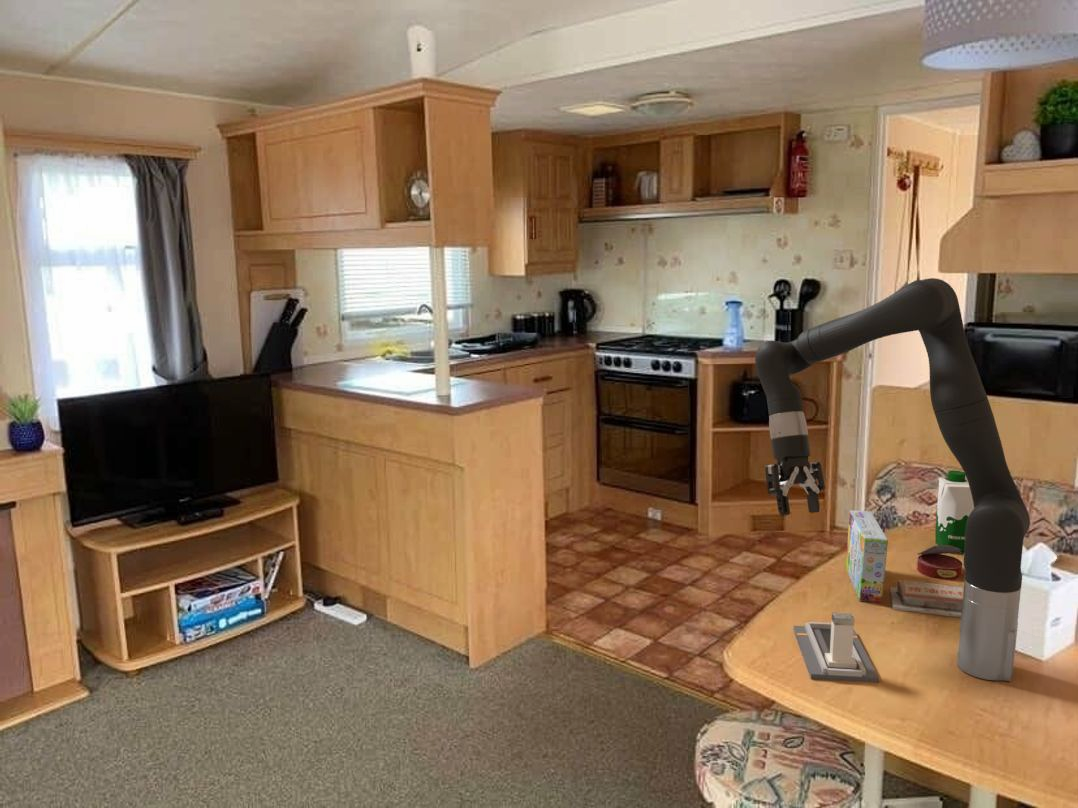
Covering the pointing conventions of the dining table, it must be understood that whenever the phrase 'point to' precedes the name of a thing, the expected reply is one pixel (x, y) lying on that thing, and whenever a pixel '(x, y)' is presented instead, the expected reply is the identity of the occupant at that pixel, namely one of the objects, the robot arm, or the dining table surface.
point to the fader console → (817, 643)
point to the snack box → (866, 555)
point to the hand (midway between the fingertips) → (799, 513)
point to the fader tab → (841, 641)
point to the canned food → (940, 563)
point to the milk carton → (953, 510)
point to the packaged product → (927, 598)
